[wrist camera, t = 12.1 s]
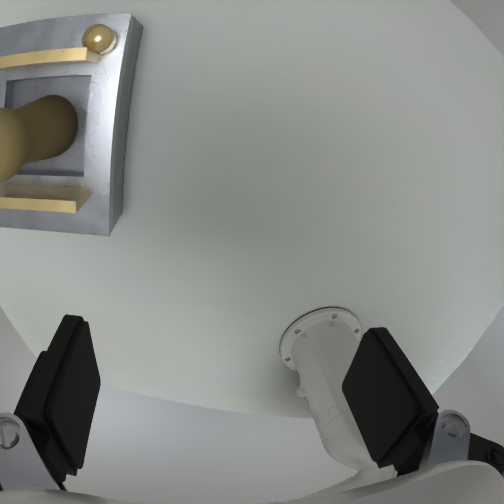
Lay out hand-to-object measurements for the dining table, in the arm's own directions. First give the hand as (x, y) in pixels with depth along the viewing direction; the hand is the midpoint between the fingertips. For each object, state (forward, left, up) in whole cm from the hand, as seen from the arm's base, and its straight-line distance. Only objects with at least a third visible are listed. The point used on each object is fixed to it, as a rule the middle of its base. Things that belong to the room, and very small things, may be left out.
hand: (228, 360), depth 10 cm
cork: (+4, +15, -22) cm, 27 cm away
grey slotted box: (+4, +16, -26) cm, 30 cm away
